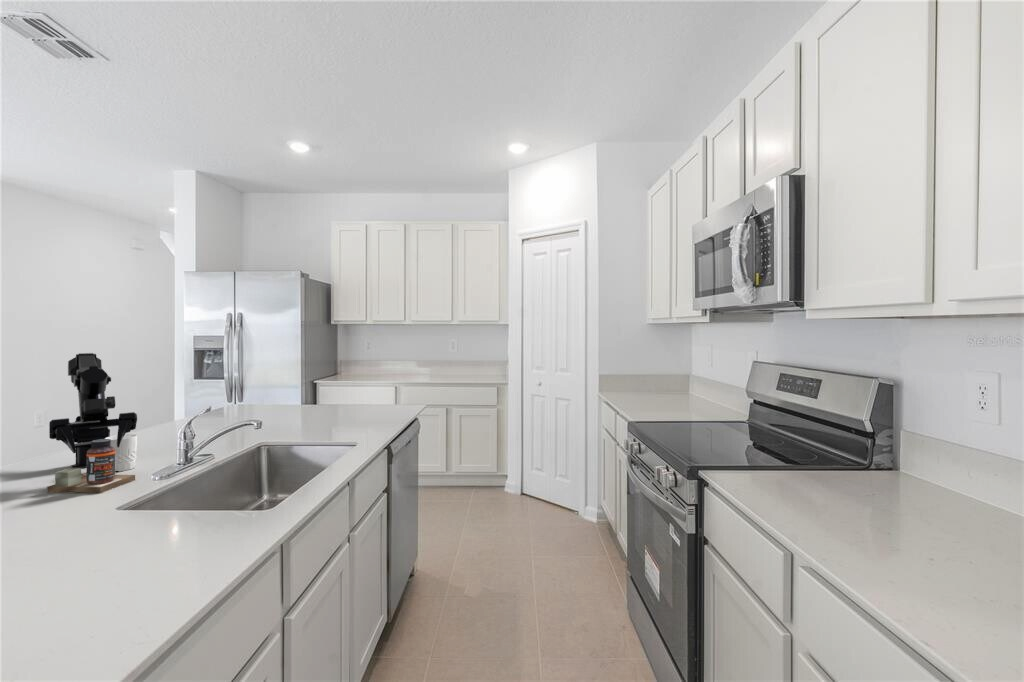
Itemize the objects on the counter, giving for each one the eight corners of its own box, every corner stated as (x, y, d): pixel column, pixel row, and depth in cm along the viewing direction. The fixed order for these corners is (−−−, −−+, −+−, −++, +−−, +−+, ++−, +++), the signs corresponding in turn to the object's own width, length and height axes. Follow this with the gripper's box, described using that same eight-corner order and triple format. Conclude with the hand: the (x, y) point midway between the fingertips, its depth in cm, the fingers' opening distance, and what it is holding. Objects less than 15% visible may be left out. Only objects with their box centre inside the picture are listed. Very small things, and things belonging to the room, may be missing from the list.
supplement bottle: (93, 486, 124) (93, 443, 124) (81, 483, 127) (81, 441, 127) (120, 480, 130) (119, 439, 130) (108, 477, 132) (107, 436, 132)
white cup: (110, 467, 148) (109, 435, 148) (141, 464, 152) (140, 433, 151) (100, 474, 141) (100, 440, 141) (133, 470, 144) (133, 438, 144)
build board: (47, 492, 125) (47, 473, 125) (86, 479, 136) (86, 461, 136) (100, 493, 124) (100, 473, 124) (135, 480, 135) (135, 462, 135)
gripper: (48, 390, 129) (50, 437, 121) (135, 385, 142) (142, 427, 135) (48, 415, 135) (50, 462, 127) (132, 408, 148) (138, 449, 140)
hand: (97, 449), depth 132 cm, fingers open, 9 cm apart
